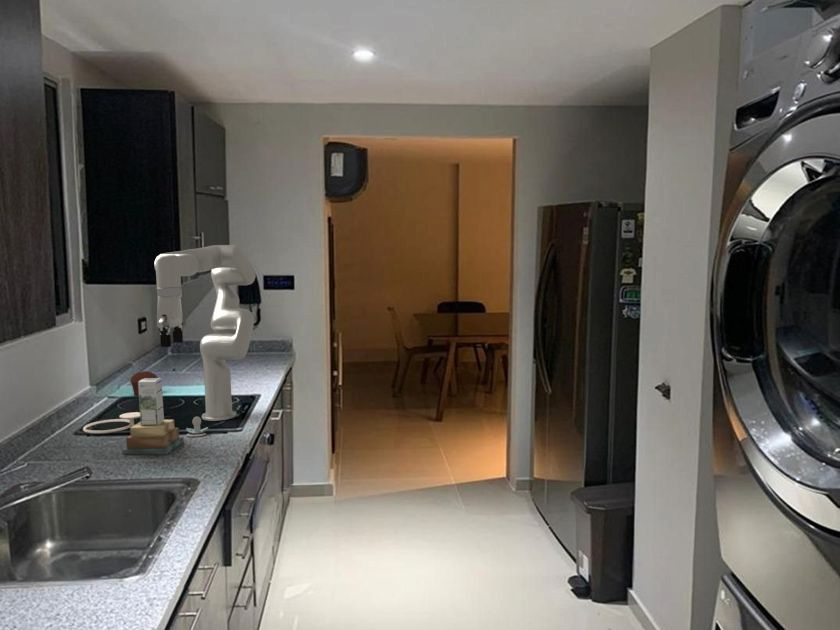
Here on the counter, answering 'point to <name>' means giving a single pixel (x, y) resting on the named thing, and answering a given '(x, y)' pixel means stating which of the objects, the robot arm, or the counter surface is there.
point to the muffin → (138, 377)
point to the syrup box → (151, 401)
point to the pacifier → (196, 428)
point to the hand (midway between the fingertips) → (172, 344)
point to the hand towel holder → (123, 417)
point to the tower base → (153, 438)
